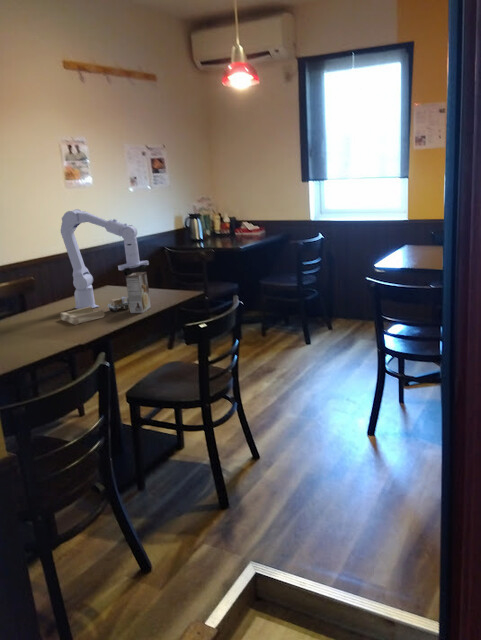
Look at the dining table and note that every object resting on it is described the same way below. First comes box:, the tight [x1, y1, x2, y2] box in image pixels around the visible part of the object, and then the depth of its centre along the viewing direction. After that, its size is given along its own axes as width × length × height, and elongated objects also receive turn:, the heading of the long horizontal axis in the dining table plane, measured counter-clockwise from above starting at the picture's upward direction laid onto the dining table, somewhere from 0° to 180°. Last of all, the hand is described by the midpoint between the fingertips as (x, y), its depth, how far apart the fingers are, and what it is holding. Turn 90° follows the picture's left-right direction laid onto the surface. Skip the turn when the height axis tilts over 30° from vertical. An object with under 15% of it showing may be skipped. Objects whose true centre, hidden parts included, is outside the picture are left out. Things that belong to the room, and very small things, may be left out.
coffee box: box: [124, 271, 152, 314], centre depth 241 cm, size 9×6×16 cm
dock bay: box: [59, 306, 105, 326], centre depth 236 cm, size 14×14×3 cm
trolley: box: [107, 296, 130, 313], centre depth 247 cm, size 6×8×5 cm
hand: (136, 283), depth 251 cm, fingers open, 5 cm apart
